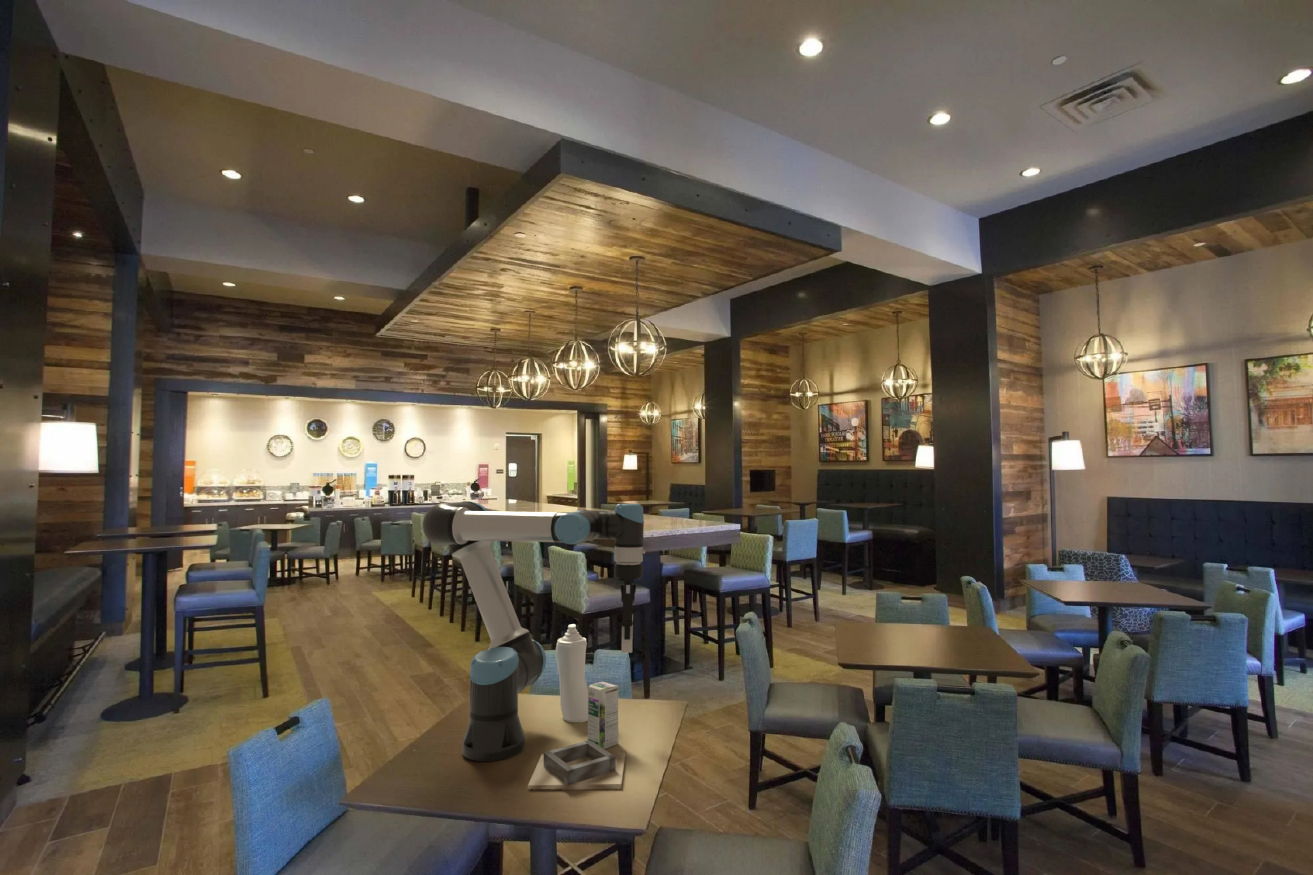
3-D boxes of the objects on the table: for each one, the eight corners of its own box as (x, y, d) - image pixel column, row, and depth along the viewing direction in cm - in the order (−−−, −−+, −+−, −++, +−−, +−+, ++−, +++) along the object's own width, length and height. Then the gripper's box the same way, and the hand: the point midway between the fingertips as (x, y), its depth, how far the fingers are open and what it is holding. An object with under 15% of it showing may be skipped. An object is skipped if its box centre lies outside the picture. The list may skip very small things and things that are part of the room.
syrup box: (586, 744, 160) (586, 685, 161) (604, 737, 164) (603, 680, 165) (602, 750, 156) (601, 690, 157) (619, 743, 160) (618, 684, 161)
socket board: (527, 790, 136) (527, 771, 136) (542, 757, 152) (541, 740, 153) (621, 789, 136) (620, 770, 136) (625, 756, 152) (625, 739, 153)
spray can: (549, 721, 176) (549, 629, 179) (560, 708, 187) (559, 621, 189) (590, 722, 175) (589, 629, 177) (598, 709, 185) (598, 622, 187)
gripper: (643, 569, 155) (642, 658, 153) (642, 557, 180) (641, 633, 178) (612, 568, 155) (610, 658, 153) (616, 557, 179) (614, 633, 178)
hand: (627, 645), depth 166 cm, fingers open, 13 cm apart
